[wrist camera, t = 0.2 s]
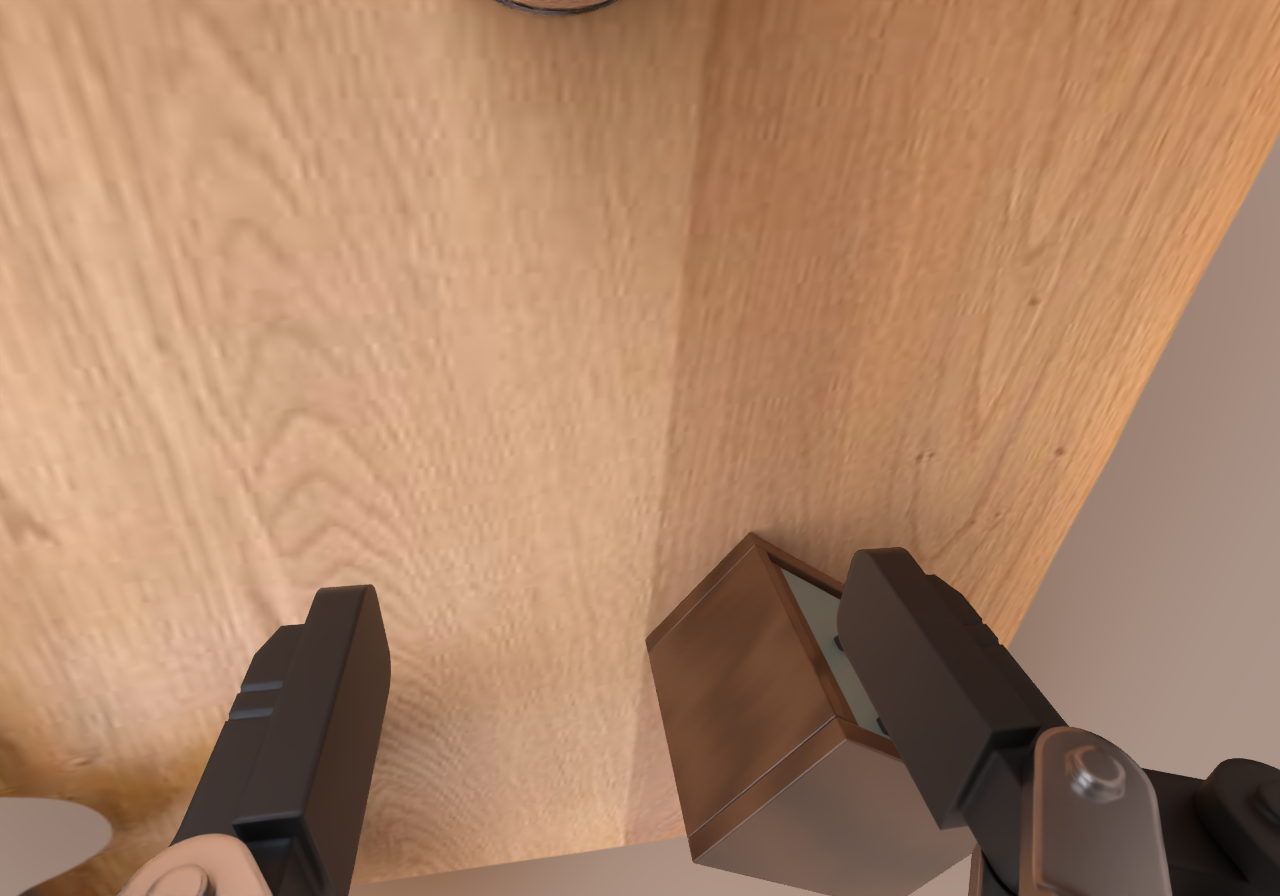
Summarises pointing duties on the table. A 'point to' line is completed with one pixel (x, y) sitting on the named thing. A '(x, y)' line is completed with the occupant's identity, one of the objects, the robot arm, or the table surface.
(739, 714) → the cabinet
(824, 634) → the sliding cabinet door
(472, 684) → the table surface
